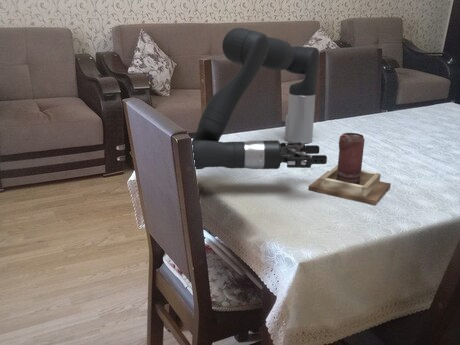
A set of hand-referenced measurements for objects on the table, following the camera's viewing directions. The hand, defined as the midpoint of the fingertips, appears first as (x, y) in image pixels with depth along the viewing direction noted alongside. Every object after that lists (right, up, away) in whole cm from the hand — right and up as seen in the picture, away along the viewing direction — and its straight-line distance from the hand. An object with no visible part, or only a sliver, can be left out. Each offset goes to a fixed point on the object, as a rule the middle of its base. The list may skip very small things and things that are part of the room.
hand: (322, 154), depth 119 cm
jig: (+8, -9, +4) cm, 13 cm away
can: (+7, -8, +3) cm, 11 cm away
